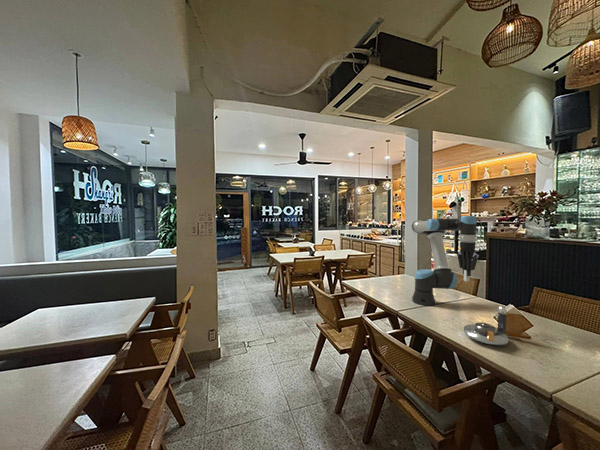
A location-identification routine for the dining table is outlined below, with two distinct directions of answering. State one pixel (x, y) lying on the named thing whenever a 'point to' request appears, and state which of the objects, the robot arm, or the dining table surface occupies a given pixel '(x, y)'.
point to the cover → (484, 328)
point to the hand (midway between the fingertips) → (466, 280)
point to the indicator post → (501, 319)
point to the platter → (489, 339)
